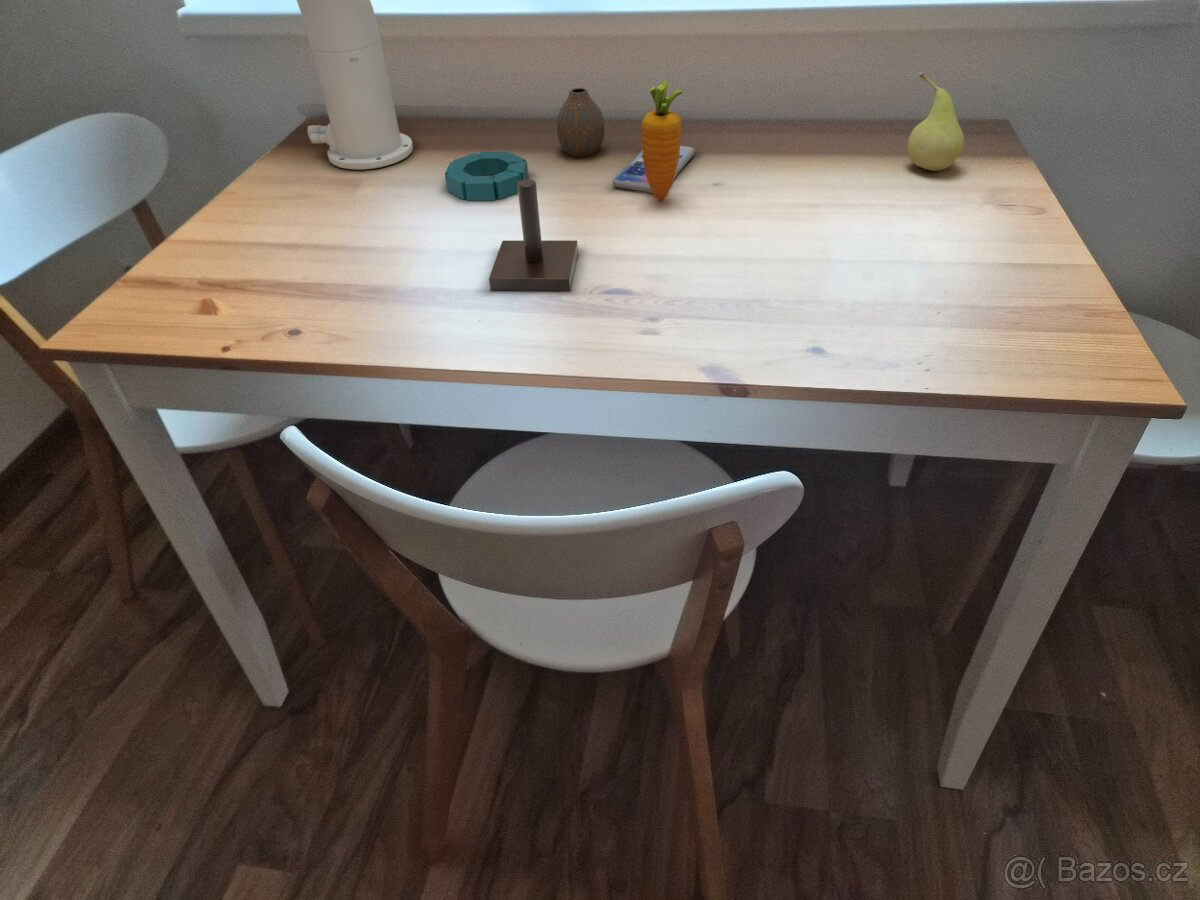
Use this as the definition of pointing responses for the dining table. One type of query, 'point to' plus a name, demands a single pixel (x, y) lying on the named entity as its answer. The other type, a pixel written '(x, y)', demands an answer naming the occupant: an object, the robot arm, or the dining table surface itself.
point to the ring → (475, 187)
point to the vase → (580, 124)
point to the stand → (533, 253)
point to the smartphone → (636, 175)
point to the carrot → (661, 142)
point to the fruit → (936, 134)
